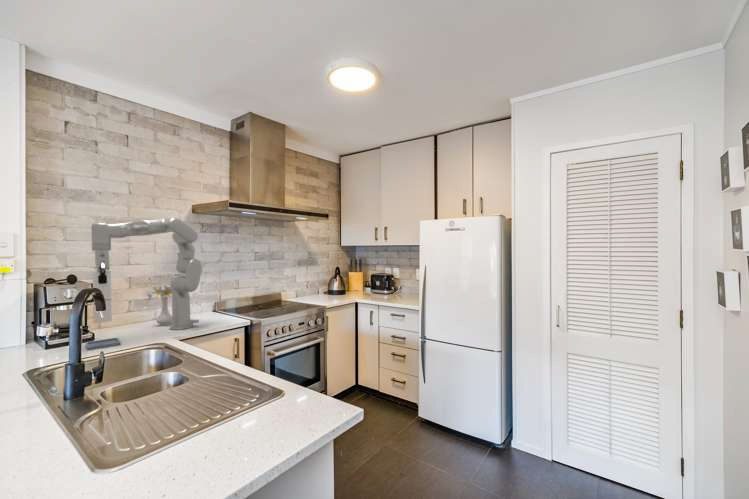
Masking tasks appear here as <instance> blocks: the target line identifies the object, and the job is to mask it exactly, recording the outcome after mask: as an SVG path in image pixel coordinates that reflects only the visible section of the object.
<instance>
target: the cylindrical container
mask: <svg viewBox="0 0 749 499" xmlns="http://www.w3.org/2000/svg"><path fill="white" fill-rule="evenodd" d="M100 273H101V272H100ZM106 275H107V283H106V284H99V283H98V276H99V271H98V270H96V271H92V288H93V287H94V288H98V289H100V290H101V291H102V293H103V295H104V297H105V301H106V311H104V313H103V315H104V317H103V318H101V315H100V314H99V313H97V312H96V311H95V304H94V302H93V301H92V311H93V312H92V314H93V315H92V319H93V321H92V322H93V323H94V324H98V323H108V322H111V321H112V320H113V319H112V272H111V270H106Z"/></svg>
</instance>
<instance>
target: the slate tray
mask: <svg viewBox="0 0 749 499" xmlns="http://www.w3.org/2000/svg"><path fill="white" fill-rule="evenodd" d="M121 345H122V342H121V340H120V339H119V337H111V338H105V339H98V340H92V341H85V349H86V351H92V350H93V351H94V350H98V349H105V348H106V349H107V348H110V347H116V346H117V347H118V346H121Z"/></svg>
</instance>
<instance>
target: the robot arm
mask: <svg viewBox="0 0 749 499" xmlns="http://www.w3.org/2000/svg"><path fill="white" fill-rule="evenodd" d="M90 229H91V251H92V252H94V262H95V263H94V264H95V270H96V271H99V276H98V283H99V284H106V283H107V275H106V271H110V269H111V268H110V253H109V252H110V251H112V239H124V238H126V237H133V236H134V237H136V236H139V237H140V236H141V237H143V236H151V235H158V234H165V233H166V234H167V233H172V235H171V236H172V237H171V238H172V239H173V241H174V242H175V244H176V245H177V246H178V250H179V251H178V256H177V262H176V265H175V266H176V267H175V268H176V271H177V273H179V274H181V275H176V276H174V277H172V279H171V280H170V281H169V282H170V283H169V287H170V289H171V293H172V294H171V312H172V314H171V315H172V322H171V325H170V326H169V330H171V331H172V330H173V331H175V330H176V331H177V330H178V331H179V330H185V329H186V330H187V329H191V328H193V327H194V324H199V322H200V319H198V318H197V319H191V297H190V293H192V292H194V291H196V290H197V289H198V287H199V284H200V281H201V276H202V270H203V266H202V262H201V260H199V259H198V258H195V252H196V250H195V246H194V244H193V243H195V242H196V241H197V240H198V237H199V236H198V232H197V231H196V230H195V229H194V228H193V227H191V226H190V225H189V224H187V223H186V222H185V221H183V220H182V219H180V218H178V217H163V218H153V219H144V220H143V219H142V220H136V221H131V222H123V223H121V222H119V223H105V222H93V223H92V225H91V227H90ZM100 272H101V273H100ZM183 274H185V275H183Z"/></svg>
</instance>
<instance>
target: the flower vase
mask: <svg viewBox="0 0 749 499" xmlns="http://www.w3.org/2000/svg"><path fill="white" fill-rule="evenodd" d="M145 291H146V295H147V296H148V301H149V302H150V301H151V299H152V296H153V299H157V297H158V296H160V298H161V312H160V313H159V315H158V316H157V318H156V323H157V324H159V326H161V327H163V326H169V325H170V326H171V325H172V314H171V313H170V312H169V309H168V308H169V307H168V306H169V305H168V299H169V300H170V299H172V293H171V289H170V286H167V285H163V287H162V285H161V286H160V287H158V288H157V287H153V292H149V291H147V290H145Z"/></svg>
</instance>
